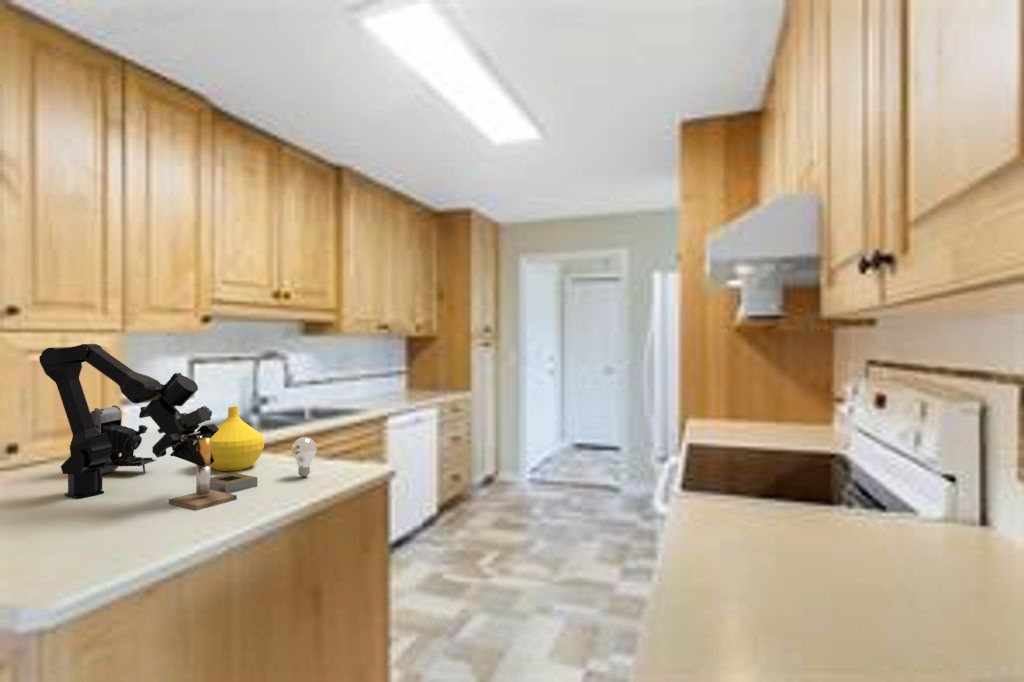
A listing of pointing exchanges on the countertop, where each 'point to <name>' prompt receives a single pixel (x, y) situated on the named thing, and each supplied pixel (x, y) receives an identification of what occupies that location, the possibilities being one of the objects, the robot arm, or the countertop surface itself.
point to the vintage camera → (119, 439)
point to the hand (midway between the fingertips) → (208, 463)
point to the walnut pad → (202, 500)
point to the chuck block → (232, 482)
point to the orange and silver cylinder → (204, 471)
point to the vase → (235, 444)
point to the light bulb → (304, 454)
